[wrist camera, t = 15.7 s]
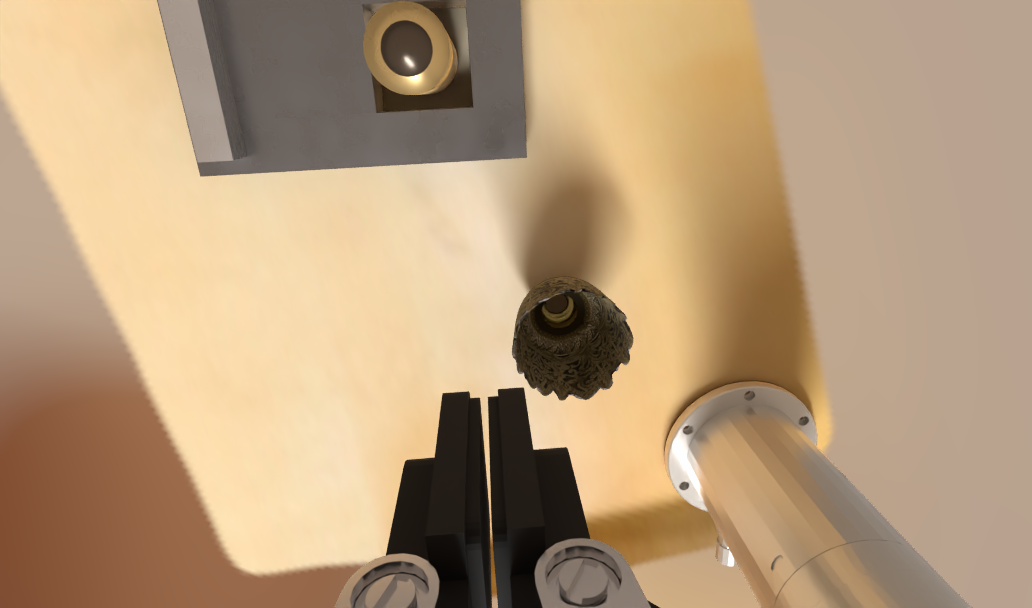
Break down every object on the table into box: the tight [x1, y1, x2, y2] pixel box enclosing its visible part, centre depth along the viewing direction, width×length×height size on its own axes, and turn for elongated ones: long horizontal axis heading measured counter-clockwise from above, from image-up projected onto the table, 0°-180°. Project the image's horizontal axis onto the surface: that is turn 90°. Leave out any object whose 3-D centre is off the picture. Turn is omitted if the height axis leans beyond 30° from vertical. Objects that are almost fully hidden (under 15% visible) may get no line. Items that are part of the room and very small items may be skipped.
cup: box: [512, 277, 633, 400], centre depth 38 cm, size 8×7×8 cm
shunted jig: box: [157, 0, 527, 176], centre depth 32 cm, size 16×20×5 cm
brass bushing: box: [363, 1, 458, 95], centre depth 31 cm, size 4×4×10 cm
